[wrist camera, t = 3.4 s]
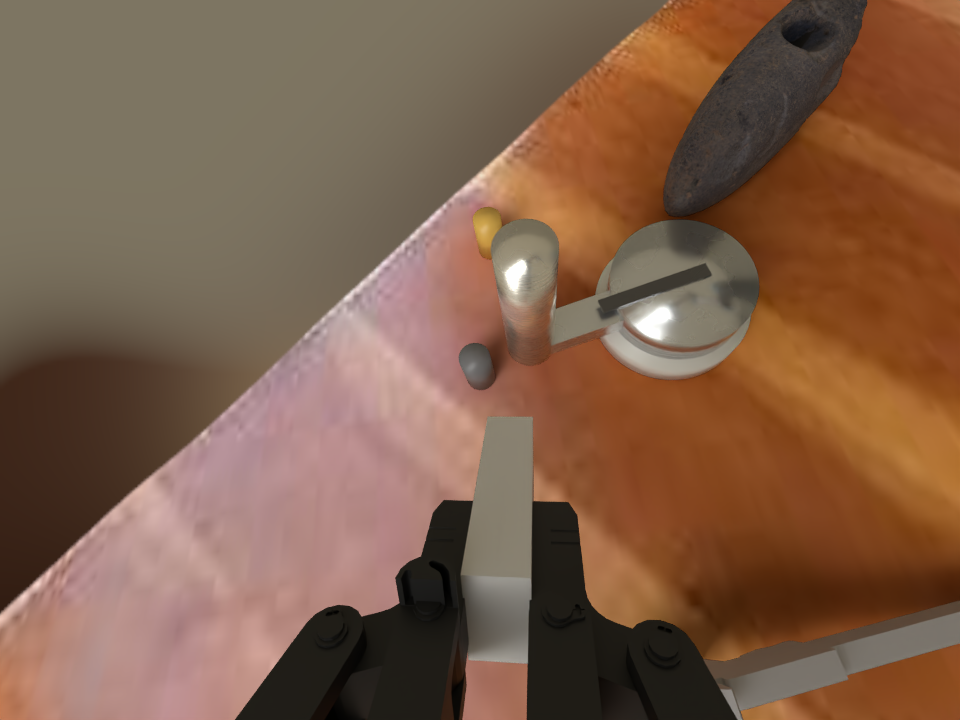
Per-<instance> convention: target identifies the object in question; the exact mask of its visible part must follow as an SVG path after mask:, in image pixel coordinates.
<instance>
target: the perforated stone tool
mask: <svg viewBox="0 0 960 720" xmlns="http://www.w3.org/2000/svg"><path fill="white" fill-rule="evenodd" d="M866 6H867V0H792V1H791V2H790V3H789V4H788V5H787V6H785V7H784V8H783V9H782V10H781V11H780V12H779V13H778V14H777V15H776V16H775V17H774V18H773V19H772V20H770V21H769V22H768V23H767V24H766V25H765V26H764V27H763V28H762V29H761V30H760V31H759V32H758V33H757V35H756V36H755V37H754V38H753V39H752V40H751V41H750V42H749V43H748V45H747V46H746V47H745V48H744V49H743V50H742V51H741V52H740V53H739V54H738V55H737V57H736V58H735V59H734V60H733V61H732V63H731V64H730V65H729V66H728V67H727V68H726V70H725V71H724V72H723V73H722V75H721V76H720V78H719V79H718V80H717V81H716V83H715V84H714V86H713V87H712V88H711V90H710V91H709V93H708V94H707V95H706V97H705V98H704V100H703V101H702V103H701V105H700V106H699V108H698V109H697V111H696V113H695V114H694V116H693V118H692V120H691V122H690V123H689V125H688V127H687V129H686V131H685V133H684V135H683V138H682V139H681V141H680V143H679V144H678V146H677V149H676V151H675V153H674V155H673V158H672V161H671V163H670V166H669V170H668V173H667V177H666V180H665V186H664V197H663V200H664V206H665V211H666V212H667V213H668V215H669V216H670V215H671V216H674V217H679V216H687V215H690V214H693V213H696V212H699V211H702V210H704V209H706V208H708V207H710V206H712V205H714V204H716V203H717V202H719V201H721V200H722V199H724V198H725V197H727V196H728V195H730V194H731V193H733V192H734V191H735V190H737V189H738V188H739V187H740V186H742V185H743V184H744V183H745V182H747V181H748V180H749V179H750V178H751V177H752V176H753V175H755V174H756V173H757V172H758V171H759V170H760V169H761V168H762V167H763V166H764V165H765V164H766V163H767V162H768V161H769V160H771V158H773V157H774V156H775V155H776V154H777V153H778V152H779V150H780V149H781V148H782V147H783V146H784V145H785V144H786V143H787V142H788V141H789V140H790V139H791V138H792V137H793V136H794V135H795V134H796V133H797V131H798V130H799V128H800V127H801V125H802V124H803V123H804V122H805V120H806V119H807V118H808V117H809V116H810V115H811V114H812V113H813V112H814V111H815V110H816V108H817V107H818V106H819V105H820V104H821V103H822V102H823V101H824V100H825V99H826V98H827V96H828V95H829V94H830V93H831V92H832V90H833V89H834V88H835V87H836V86H837V83H838V81H839V79H840V77H841V73H842V65H843V63H844V61H845V59H846V58H847V56H848V55H849V53H850V50H851V48H852V47H853V45H854V44H855V42H856V40H857V37H858V34H859V31H860V29H861V26H862V18H863V14H864V10H865V8H866Z"/></svg>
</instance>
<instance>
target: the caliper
mask: <svg viewBox="0 0 960 720" xmlns="http://www.w3.org/2000/svg"><path fill="white" fill-rule="evenodd" d="M959 643H960V601H956V602H952V603H949V604H945V605H941V606H938V607H934V608H930V609H927V610H923V611H919V612H916V613H912V614H908V615H904V616H901V617H897V618H893V619H890V620H886V621H882V622H878V623H875V624H871V625H867V626H864V627H860V628H856V629H853V630H849V631H845V632H841V633H838V634H834V635H830V636H827V637H823V638H819V639H815V640H812V641H808V642H804V643H802V642H796V641H786V642H782V643H779V644H777V645H774V646H771V647H767V648H761V649H757V650H754V651H751V652H749V653H746V654H744V655H742V656H740V657H739V658H735V659H732V660H728V661H716V660H707V659H703V660H704V662H705V664H706V665H707V667H708V669H709V671H710V672H711V674H712V676H713V677H714V679H715V681H716V683H717V684H718V686H719V688H720V690H721V691H722V693H723V695H724V697H725V698H726V700H727V702H728V704H729V705H730V707H731V709H732V711H733V712H734V714H735V716H736V718H737V719H738V720H743V717H742V714H741V712H740V711H742V710H746V709H750V708H753V707H757V706H760V705H763V704H767V703H770V702H774V701H777V700H780V699H784V698H787V697H791V696H794V695H797V694H801V693H804V692H808V691H811V690H814V689H818V688H821V687H825V686H828V685H832V684H835V683H838V682H842V681H845V680H848V677H847V675H850V674H853V673H857V672H860V671H864V670H867V669H871V668H874V667H878V666H881V665H885V664H888V663H892V662H895V661H899V660H903V659H906V658H910V657H913V656H917V655H920V654H924V653H927V652H931V651H934V650H938V649H941V648H945V647H948V646H952V645H955V644H959Z"/></svg>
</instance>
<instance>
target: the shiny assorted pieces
mask: <svg viewBox="0 0 960 720" xmlns="http://www.w3.org/2000/svg"><path fill="white" fill-rule="evenodd" d="M473 224H474V229H475V234H476V238H477V243H478V247H479V252H480V254H481V256H482V257H484V258H486V259H490V260H492V256H491V243H492V240H493V238H494V236H495V234H496V233H497V232H498V231H499V230H500V229H501V228H502V222H501V215H500V213H499V212H498V210H496V209H495V208H492V207H484V208H481V209H479V210H478V211H477V212H476V213H475V214H474V216H473ZM613 260H614V258H613V259H612V260H611V261H610V262H609V263H608V265H607V266H606V267H605V269H604V270H603V272H602V274H601V276H600V279H599V281H598V285H597V289H596V293H595V295H597V294H600V293H603V292H606V287H607V282H608V278H609V274H610V270H611V266H612V262H613ZM750 320H751V315H750V317H749V318H748V319H747V321H746V322H745V323H744V324H743V325H742V326H741V327H740V328H739V329H738V331H737V332H736V333H735V334H734V335H733V336H732V337H731V338H730V339H729V340H728V341H727V342H726V343H725V344H724V345H723V346H721V347H720V348H718V349H717V350H715V351H713V352H711V353H709V354H707V355H704V356H701V357H697V358H692V359H679V360H676V359H666V358H662V357H657V356H654V355H651V354H648V353H646V352H644V351H642V350H640V349H638V348H637V347H635V346H634V345H632V344H631V343H630V342H628V341H627V340H626V339H625V338H624V337H623V336H622V335H621V334H620V333H619V331H617V332H614V333H611V334H608V335H605V336H603V337H600V340H601V342H602V344H603V345H604V346H605V348H606V349H607V351H608V352H609V353H610V354H611V355H612V356H613V357H614V358H615V359H616V360H618V361H619V362H620V363H621V364H623V365H624V366H626V367H627V368H629V369H631V370H633V371H635V372H637V373H639V374H642V375H645V376H648V377H652V378H656V379H663V380H681V379H688V378H692V377H696V376H699V375H701V374H704V373H706V372H708V371H710V370H712V369H713V368H715V367H716V366H718V365H719V364H720V363H721V362H723V361H724V359H725V358H726V357H727V356H728V355H729V354H730V353H731V352H732V351H733V350H734V349H735V348H736V347H737V346H738V345H739V344H740V342H741V341H742V339H743V338H744V336H745V334H746V332H747V330H748V327H749V323H750ZM459 363H460V365H461V368H462V370H463V372H464V374H465V376H466V378H467V381H468V383H469V384H470V386H471V387H473V388H474V389H477V390H485V389H487V388H489V387H490V386H491V385H492V384H493V383H494V381H495V372H494V368H493V364H492V361H491V357H490V354H489V351H488V349H487V348H486V347H485V346H484V345H482V344H479V343H471V344H468V345H466V346H465V347H464V348H463V349H462V350H461V352H460V354H459Z"/></svg>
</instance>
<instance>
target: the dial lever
mask: <svg viewBox="0 0 960 720" xmlns="http://www.w3.org/2000/svg"><path fill="white" fill-rule="evenodd" d="M491 256H492V262H493V267H494V273H495V279H496V284H497V290H498V295H499V301H500V307H501V312H502V318H503V324H504V329H505V335H506V341H507V346H508V351H509V353H510V355H511V357H512V358H513V359H514V360H515V361H516V362H518V363H520V364H522V365H526V366H534V365H539V364H541V363H543V362H544V361H546V360H547V359H548V358H549V357H550V355H551V354H553V353H556V352H559V351H562V350H565V349H568V348H571V347H574V346H577V345H579V344H582V343H585V342H588V341H591V340H594V339H597V338H600V337H603V336H605V335H608V334H611V333H614V332H617V331H619V333H620V334H621V335H622V336H623V337H624V338H625V339H626V340H627V341H628V342H630V343H631V344H632V345H634V346H635V347H637V348H638V349H640V350H642V351H644V352H646V353H648V354H651V355H654V356H657V357H662V358H666V359H676V360H679V359H692V358H697V357H701V356H704V355H707V354H709V353H711V352H713V351H715V350H717V349H718V348H720V347H721V346H723V345H724V344H725V343H726V342H727V341H728V340H729V339H730V338H731V337H732V336H733V335H734V334H735V333H736V332H737V331H738V329H739V328H740V327H741V326H742V325H743V324H744V323H745V322H746V321H747V319H748V318H749V317H750V315H751V314H752V312H753V310H754V308H755V306H756V303H757V299H758V295H759V278H758V273H757V270H756V267H755V264H754V262H753V260H752V259H751V257H750V255H749V254H748V252H747V251H746V250H745V248H744V247H743V246H742V245H741V244H740V243H739V242H738V241H737V240H735V239H734V238H733V237H732V236H730V235H729V234H727V233H726V232H724V231H722V230H720V229H718V228H716V227H714V226H711V225H709V224H706V223H702V222H698V221H692V220H680V219H678V220H666V221H661V222H657V223H654V224H651V225H648V226H646V227H644V228H642V229H640V230H638V231H637V232H635V233H634V234H632V235H631V236H630V237H629V238H628V239H627V240H626V241H625V242H624V243H623V244H622V245H621V247H620V248H619V249H618V251H617V253H616V255H615V257H614V260H613V262H612V266H611V270H610V274H609V278H608V282H607V287H606V292H603V293H600V294H597V295H594V296H592V297H589V298H586V299H583V300H580V301H577V302H574V303H571V304H568V305H566V306H563V307H560V308H557V309H556V293H557V275H558V256H559V242H558V238H557V236H556V234H555V232H554V231H553V230H552V229H551V228H550V227H549V226H548V225H546V224H545V223H543V222H540V221H538V220H533V219H519V220H515V221H512V222H510V223H508V224H506V225H504V226H503V227H502V228H501V229H500V230H499V231H498V232H497V233H496V234H495V236H494V238H493V240H492V243H491Z"/></svg>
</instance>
